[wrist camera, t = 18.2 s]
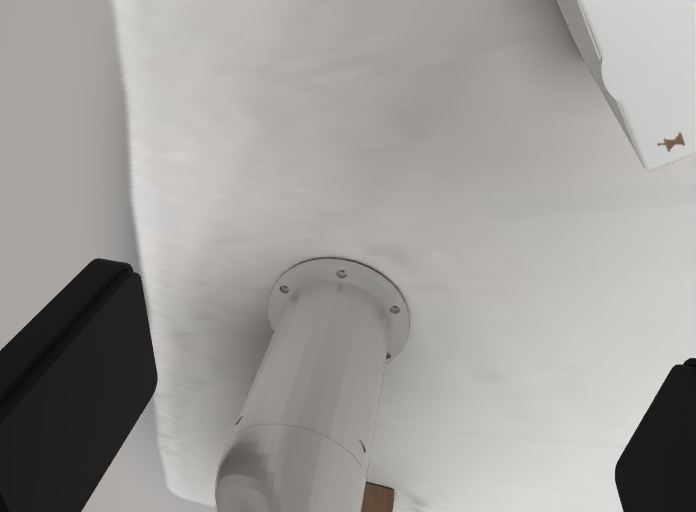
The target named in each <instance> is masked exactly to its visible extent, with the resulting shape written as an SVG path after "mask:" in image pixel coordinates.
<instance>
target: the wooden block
mask: <svg viewBox="0 0 696 512" xmlns="http://www.w3.org/2000/svg"><path fill="white" fill-rule="evenodd" d="M393 502H394V490H392V489H389V488H385V487H381V486H377V485H374V484H370V483H365V489H364V495H363V501H362V508H361V512H392V511H393Z"/></svg>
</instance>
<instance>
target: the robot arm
mask: <svg viewBox="0 0 696 512" xmlns="http://www.w3.org/2000/svg"><path fill="white" fill-rule="evenodd" d="M268 318H269V322H270V326H271V328H272V330H273V332H274V333H273V336H272V338H271V340H270V343H269V345H268V348H267V350H266V352H265V355H264V357H263V360H262V362H261V364H260V367H259V369H258V372H257V374H256V376H255V379H254V381H253V384H252V386H251V388H250V391H249V393H248V395H247V398H246V400H245V403H244V405H243V407H242V410H241V412H240V415H239V417H238V419H237V422H236V424H235V427H234V429H233V431H232V434H231V436H230V439H229V441H228V443H227V446H226V448H225V451H224V453H223V455H222V458H221V460H220V464H219V467H218V471H217V476H216V483H215V498H216V506H217V512H361V508H362V501H363V495H364V489H365V483H366V477H367V471H368V465H369V459H370V453H371V447H372V441H373V435H374V429H375V422H376V416H377V410H378V404H379V398H380V392H381V386H382V380H383V374H384V368H385V364H387V363H388V362H390V361H392V360H393V359H394V358H395V357H396V356H397V355H398V354H399V353H400V351H401V350H402V348H403V347H404V345H405V343H406V340H407V337H408V331H409V313H408V310H407V306H406V303H405V301H404V300H403V298H402V296H401V294H400V293H399V292H398V290H397V289H396V288H395V287H394V286H393V285H392V283H390V282H389V281H388V280H387V279H386V278H384V277H383V276H382V275H381V274H379V273H377V272H375V271H374V270H372V269H370V268H368V267H366V266H363V265H360V264H358V263H355V262H351V261H346V260H341V259H317V260H311V261H307V262H304V263H300V264H299V265H297V266H295V267H293V268H291V269H289V270H288V271H287V272H286V273H284V274H283V275H282V276H281V277H280V278H279V280H278V281H277V282H276V284H275V286H274V288H273V290H272V292H271V294H270V297H269V301H268ZM157 379H158V377H157V370H156V364H155V358H154V352H153V346H152V340H151V334H150V328H149V322H148V316H147V310H146V304H145V299H144V293H143V287H142V281H141V277H140V275H139V274H138V273H134V272H133V269H132V267H131V266H130V264H128V263H123V262H117V261H112V260H106V259H100V258H98V259H94V260H93V261H91V262H90V263H89V264H88V265H87V266H86V267H85V268H84V269H83V270H82V271H81V272H80V273H79V274H78V275H77V276H76V277H75V278H74V279H73V280H72V281H71V282H70V283H69V284H68V285H67V286H66V287H65V288H64V289H63V290H62V291H61V292H60V293H59V294H57V295H56V296H55V297H54V298H53V299H52V300H51V301H50V302H49V303H48V304H47V305H46V306H45V307H44V308H43V309H42V310H41V311H40V312H39V313H38V314H37V315H36V316H35V317H34V318H33V319H32V320H31V321H30V322H29V323H28V324H27V325H26V326H25V327H24V328H23V329H22V330H21V331H20V332H19V333H18V334H17V335H16V336H15V337H14V338H13V339H12V340H11V341H10V342H9V343H8V344H7V345H6V346H5V347H4V348H2V350H1V351H0V512H81V511H82V509H83V508H84V506H85V505H86V503H87V501H88V500H89V498H90V496H91V495H92V493H93V492H94V490H95V488H96V487H97V485H98V483H99V482H100V480H101V478H102V477H103V475H104V474H105V472H106V470H107V468H108V467H109V466H110V464H111V462H112V461H113V459H114V457H115V456H116V454H117V453H118V451H119V449H120V448H121V446H122V445H123V443H124V441H125V440H126V438H127V436H128V435H129V433H130V431H131V430H132V428H133V427H134V425H135V423H136V422H137V420H138V419H139V417H140V415H141V414H142V412H143V410H144V409H145V407H146V405H147V404H148V402H149V401H150V399H151V397H152V396H153V394H154V392H155V389H156V385H157ZM615 482H616V486H617V490H618V493H619V497H620V501H621V504H622V508H623V512H696V358H690V359H688V360H686V361H685V362H684V364H683V365H675V366H674V367H673V368H672V369H671V371H670V372H669V374H668V376H667V378H666V379H665V381H664V383H663V384H662V386H661V388H660V390H659V391H658V393H657V395H656V396H655V398H654V400H653V402H652V403H651V405H650V407H649V408H648V410H647V412H646V414H645V415H644V417H643V419H642V420H641V422H640V424H639V426H638V427H637V429H636V431H635V433H634V434H633V436H632V438H631V439H630V441H629V443H628V445H627V446H626V448H625V450H624V451H623V453H622V455H621V457H620V458H619V460H618V462H617V464H616V469H615Z"/></svg>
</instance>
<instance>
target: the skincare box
mask: <svg viewBox="0 0 696 512" xmlns="http://www.w3.org/2000/svg"><path fill="white" fill-rule="evenodd" d="M556 1H557V3H558V6H559V8H560V10H561V13H562V15H563V17H564V20H565V22H566V24H567V26H568V29H569V31H570V33H571V35H572V37H573V40H574V42H575V44H576V46H577V48H578V50H579V52H580V54H581V56H582V59H583V61H584V62H585V63H586V65H587V66H588V68H589V69H590V71H591V73H592V75H593V77H594V79H595V80H596V82H597V84H598V86H599V88H600V89H601V91H602V93H603V95H604V96H605V98H606V100H607V102H608V104H609V105H610V107H611V109H612V111H613V113H614V114H615V116H616V118H617V120H618V121H619V123H620V125H621V127H622V129H623V130H624V132H625V134H626V136H627V137H628V139H629V141H630V143H631V145H632V146H633V148H634V150H635V152H636V154H637V155H638V157H639V159H640V161H641V163H642V165H643V166H644V167H645V168H646V170H648V171H649V172H651V171H653V170H655V169H657V168H660V167H662V166H665V165H667V164H670V163H672V162H674V161H677V160H679V159H682V158H684V157H687V156H689V155H691V154H694V153H696V0H556Z"/></svg>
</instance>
